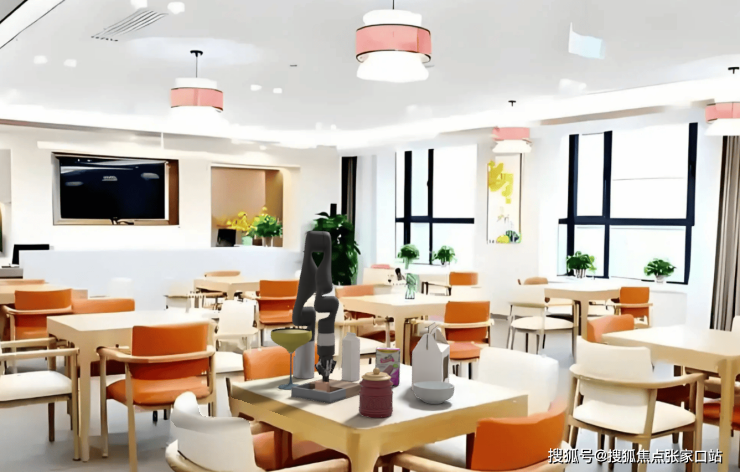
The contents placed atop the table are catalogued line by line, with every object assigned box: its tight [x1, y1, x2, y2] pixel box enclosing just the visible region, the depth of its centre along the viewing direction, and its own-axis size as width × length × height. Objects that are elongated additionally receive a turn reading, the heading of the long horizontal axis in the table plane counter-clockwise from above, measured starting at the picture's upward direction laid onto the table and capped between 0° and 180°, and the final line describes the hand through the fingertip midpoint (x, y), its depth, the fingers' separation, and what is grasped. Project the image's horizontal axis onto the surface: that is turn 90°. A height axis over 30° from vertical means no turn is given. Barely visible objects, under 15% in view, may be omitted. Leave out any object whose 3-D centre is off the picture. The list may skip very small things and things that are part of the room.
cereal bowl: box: [413, 381, 455, 405], centre depth 300 cm, size 17×17×7 cm
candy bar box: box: [374, 346, 402, 386], centre depth 332 cm, size 11×5×16 cm, turn 84°
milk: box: [341, 331, 361, 382], centre depth 341 cm, size 6×6×22 cm
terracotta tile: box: [315, 380, 330, 393], centre depth 306 cm, size 6×5×2 cm
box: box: [290, 382, 347, 404], centre depth 305 cm, size 20×11×4 cm, turn 56°
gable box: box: [411, 322, 451, 392], centre depth 329 cm, size 22×13×28 cm, turn 165°
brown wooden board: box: [308, 378, 361, 399], centre depth 314 cm, size 20×12×4 cm, turn 56°
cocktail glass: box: [270, 327, 312, 391], centre depth 324 cm, size 18×18×25 cm
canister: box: [358, 367, 394, 419], centre depth 279 cm, size 13×13×18 cm
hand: (325, 384), depth 308 cm, fingers closed
